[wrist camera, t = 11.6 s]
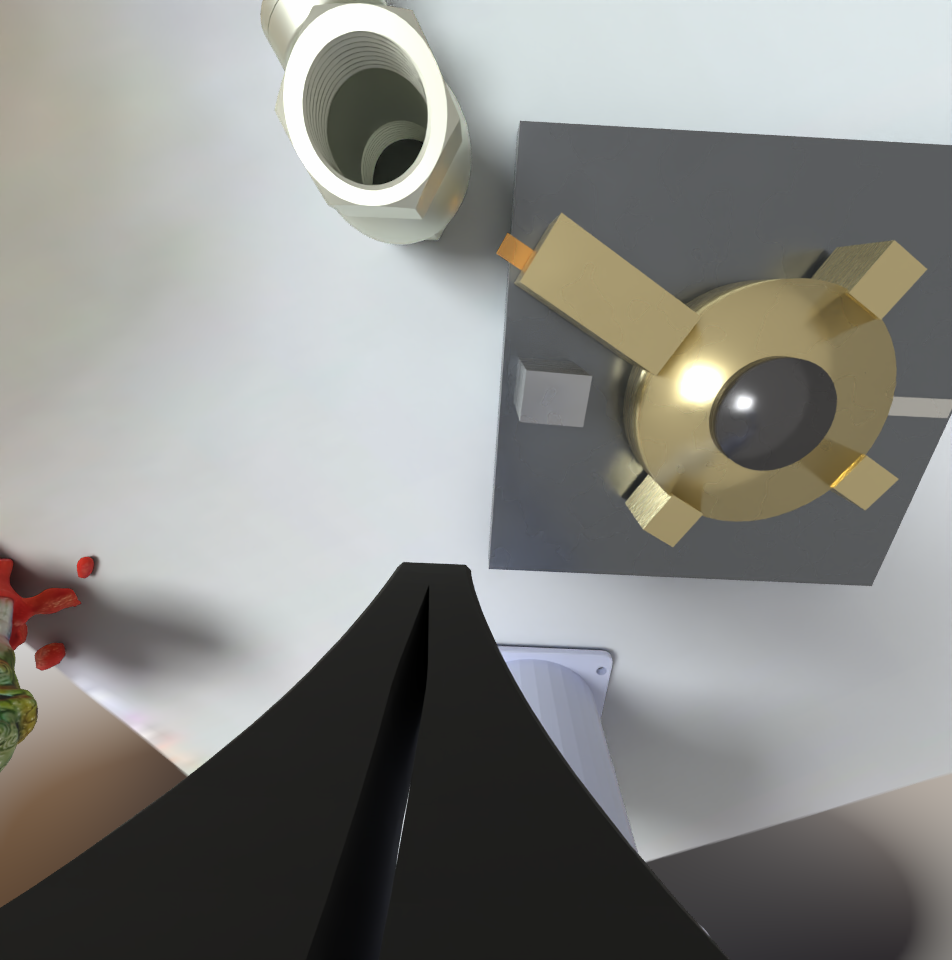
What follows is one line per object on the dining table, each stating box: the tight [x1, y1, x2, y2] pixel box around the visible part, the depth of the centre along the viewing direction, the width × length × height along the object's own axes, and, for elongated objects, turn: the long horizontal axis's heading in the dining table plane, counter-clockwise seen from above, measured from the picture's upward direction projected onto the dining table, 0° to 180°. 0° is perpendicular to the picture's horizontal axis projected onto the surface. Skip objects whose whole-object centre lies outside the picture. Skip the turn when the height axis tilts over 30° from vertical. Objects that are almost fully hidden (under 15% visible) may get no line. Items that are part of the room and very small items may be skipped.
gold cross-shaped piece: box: [514, 213, 927, 547], centre depth 15 cm, size 14×11×3 cm
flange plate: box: [489, 121, 952, 586], centre depth 16 cm, size 16×18×4 cm
